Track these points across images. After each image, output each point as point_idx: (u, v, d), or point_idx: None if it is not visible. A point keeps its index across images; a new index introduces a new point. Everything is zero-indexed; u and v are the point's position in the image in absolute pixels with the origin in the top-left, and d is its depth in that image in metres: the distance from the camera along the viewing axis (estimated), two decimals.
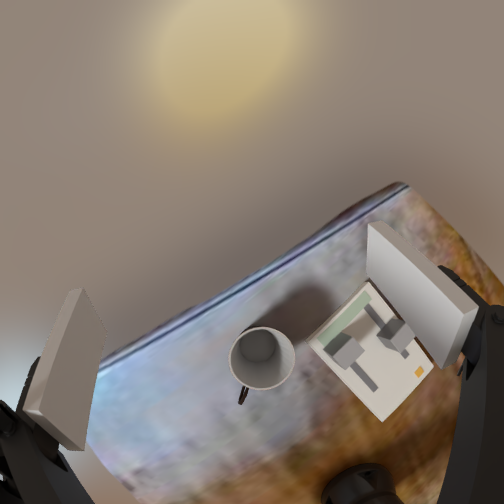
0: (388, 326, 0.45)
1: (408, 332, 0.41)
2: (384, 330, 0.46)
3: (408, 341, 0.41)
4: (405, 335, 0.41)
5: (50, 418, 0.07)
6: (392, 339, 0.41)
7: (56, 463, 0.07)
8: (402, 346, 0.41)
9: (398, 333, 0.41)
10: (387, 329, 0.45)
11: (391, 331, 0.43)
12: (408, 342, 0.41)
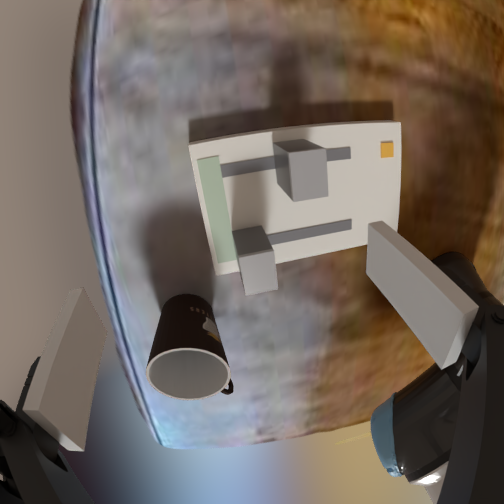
0: (278, 163, 0.27)
1: (308, 164, 0.23)
2: (278, 173, 0.27)
3: (322, 172, 0.23)
4: (307, 171, 0.23)
5: (50, 418, 0.07)
6: (294, 198, 0.24)
7: (56, 463, 0.07)
8: (320, 187, 0.24)
9: (295, 182, 0.23)
10: (280, 171, 0.26)
11: (285, 177, 0.25)
12: (324, 173, 0.23)
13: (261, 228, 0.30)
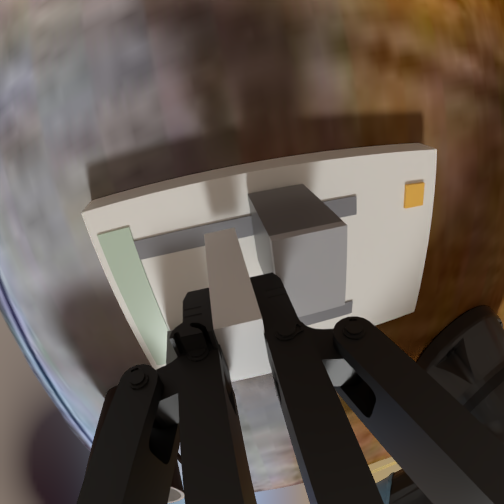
0: (256, 234, 0.16)
1: (310, 258, 0.12)
2: (258, 248, 0.16)
3: (337, 269, 0.12)
4: (309, 270, 0.12)
5: (241, 335, 0.09)
6: None
7: None
8: (331, 294, 0.13)
9: None
10: (260, 249, 0.15)
11: (267, 269, 0.14)
12: (340, 270, 0.12)
13: None
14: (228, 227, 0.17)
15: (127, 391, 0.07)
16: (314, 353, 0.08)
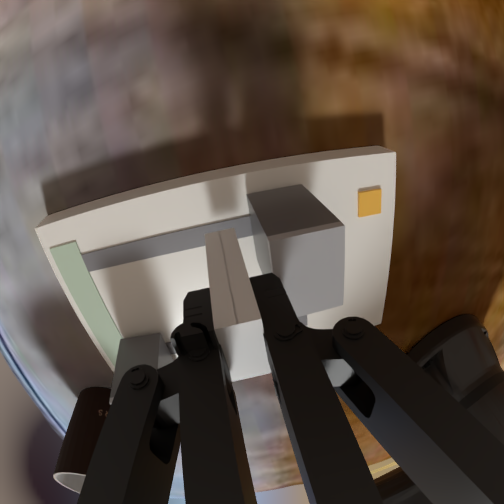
0: (255, 234, 0.16)
1: (308, 258, 0.12)
2: (257, 248, 0.16)
3: (335, 269, 0.12)
4: (307, 270, 0.12)
5: (242, 335, 0.09)
6: None
7: None
8: (329, 294, 0.13)
9: None
10: (258, 249, 0.15)
11: (266, 269, 0.14)
12: (338, 270, 0.12)
13: (157, 340, 0.19)
14: (165, 241, 0.17)
15: (128, 391, 0.07)
16: (313, 353, 0.08)
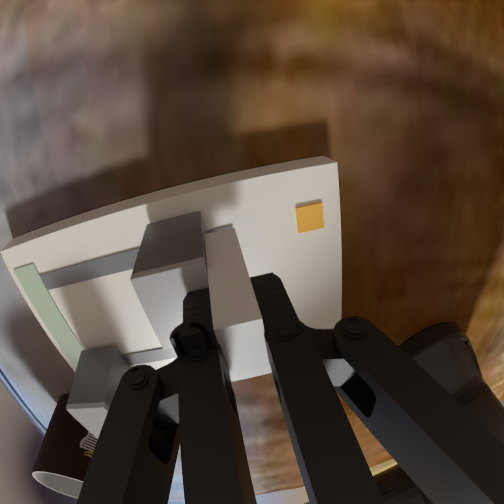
0: None
1: (173, 294, 0.12)
2: None
3: None
4: (175, 305, 0.12)
5: (241, 335, 0.09)
6: (164, 344, 0.13)
7: None
8: None
9: (157, 323, 0.12)
10: None
11: None
12: None
13: (111, 352, 0.19)
14: (108, 262, 0.17)
15: (127, 391, 0.07)
16: (314, 353, 0.08)
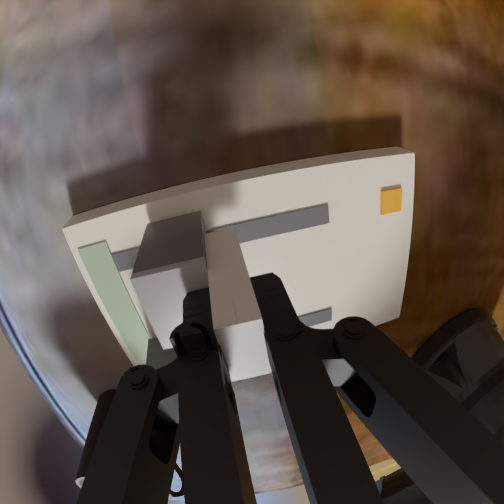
0: None
1: (173, 294, 0.12)
2: None
3: None
4: (175, 305, 0.12)
5: (241, 335, 0.09)
6: (164, 344, 0.13)
7: None
8: None
9: (157, 322, 0.12)
10: None
11: None
12: None
13: None
14: None
15: (128, 391, 0.07)
16: (314, 353, 0.08)
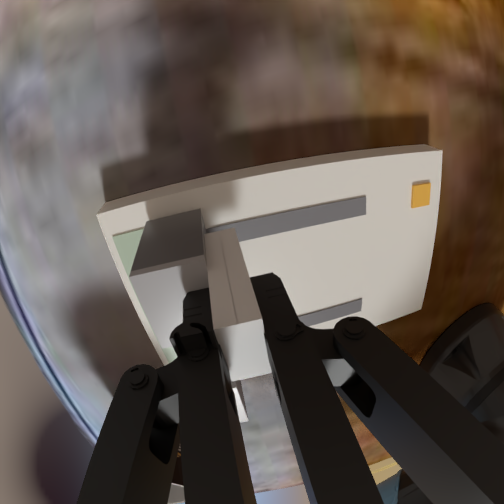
0: None
1: (172, 292, 0.12)
2: None
3: None
4: (174, 303, 0.12)
5: (241, 335, 0.09)
6: (162, 343, 0.13)
7: None
8: None
9: (156, 321, 0.12)
10: None
11: None
12: None
13: None
14: (243, 228, 0.17)
15: (127, 391, 0.07)
16: (314, 353, 0.08)
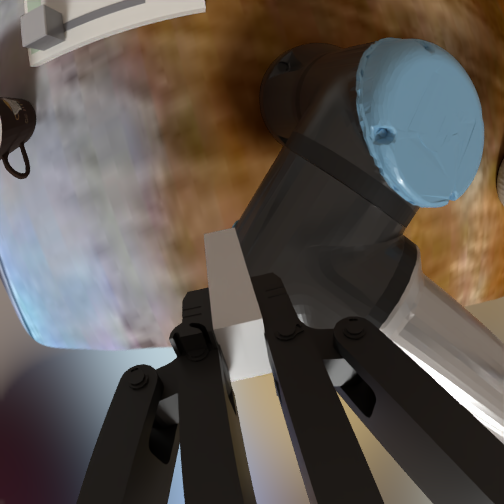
0: None
1: None
2: None
3: None
4: None
5: (241, 335, 0.09)
6: None
7: None
8: None
9: None
10: None
11: None
12: None
13: (58, 13, 0.21)
14: None
15: (127, 391, 0.07)
16: (314, 353, 0.08)
